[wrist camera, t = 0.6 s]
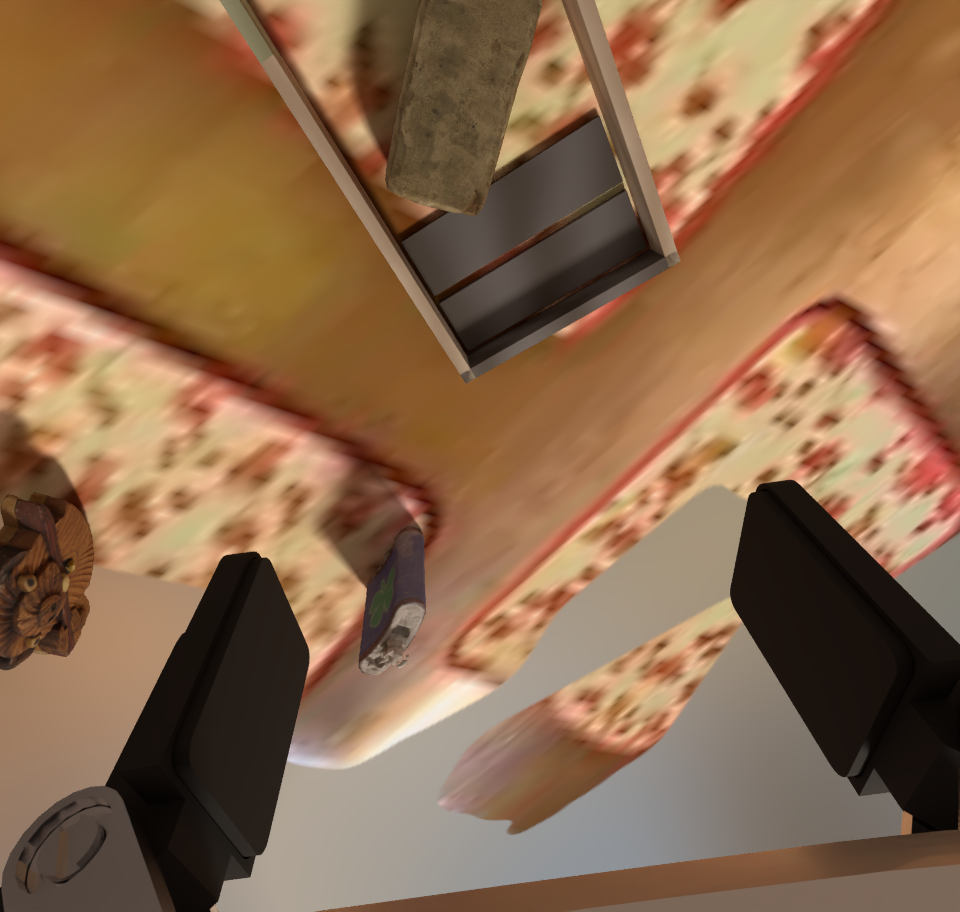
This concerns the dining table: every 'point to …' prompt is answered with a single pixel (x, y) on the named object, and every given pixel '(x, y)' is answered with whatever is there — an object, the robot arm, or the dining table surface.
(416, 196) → the stone block
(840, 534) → the robot arm
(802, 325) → the dining table surface
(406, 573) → the flask
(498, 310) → the box
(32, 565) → the wooden carving
